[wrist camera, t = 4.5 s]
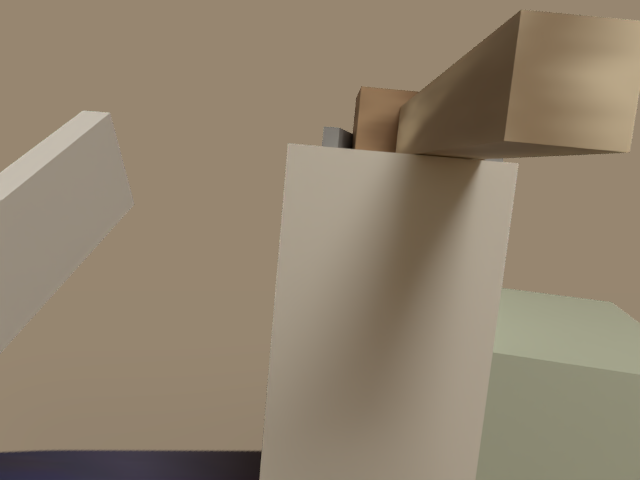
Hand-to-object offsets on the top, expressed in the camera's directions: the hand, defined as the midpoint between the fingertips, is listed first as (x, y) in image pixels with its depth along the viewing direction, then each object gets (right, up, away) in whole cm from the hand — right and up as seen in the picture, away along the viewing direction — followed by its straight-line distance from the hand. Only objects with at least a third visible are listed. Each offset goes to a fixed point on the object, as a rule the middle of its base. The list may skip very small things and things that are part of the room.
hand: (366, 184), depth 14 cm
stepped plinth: (+7, -25, +25) cm, 36 cm away
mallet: (+5, +3, +14) cm, 15 cm away
